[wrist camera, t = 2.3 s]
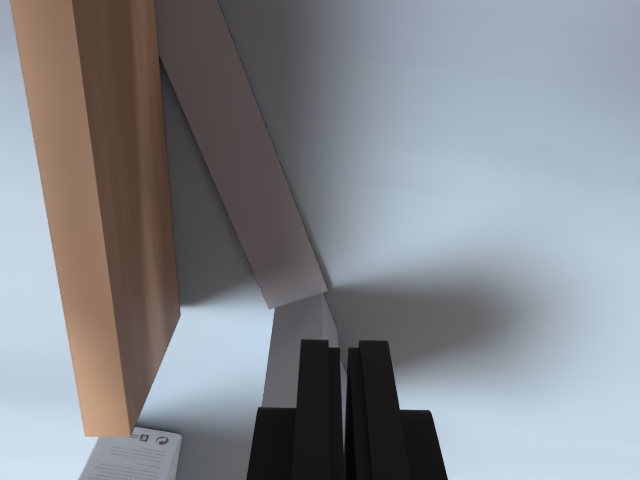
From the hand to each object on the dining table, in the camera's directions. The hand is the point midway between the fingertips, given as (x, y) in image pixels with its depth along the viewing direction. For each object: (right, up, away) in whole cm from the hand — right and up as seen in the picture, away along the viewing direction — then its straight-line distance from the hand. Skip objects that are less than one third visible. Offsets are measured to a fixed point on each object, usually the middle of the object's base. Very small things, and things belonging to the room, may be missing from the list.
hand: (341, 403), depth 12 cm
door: (-8, +8, +14) cm, 18 cm away
